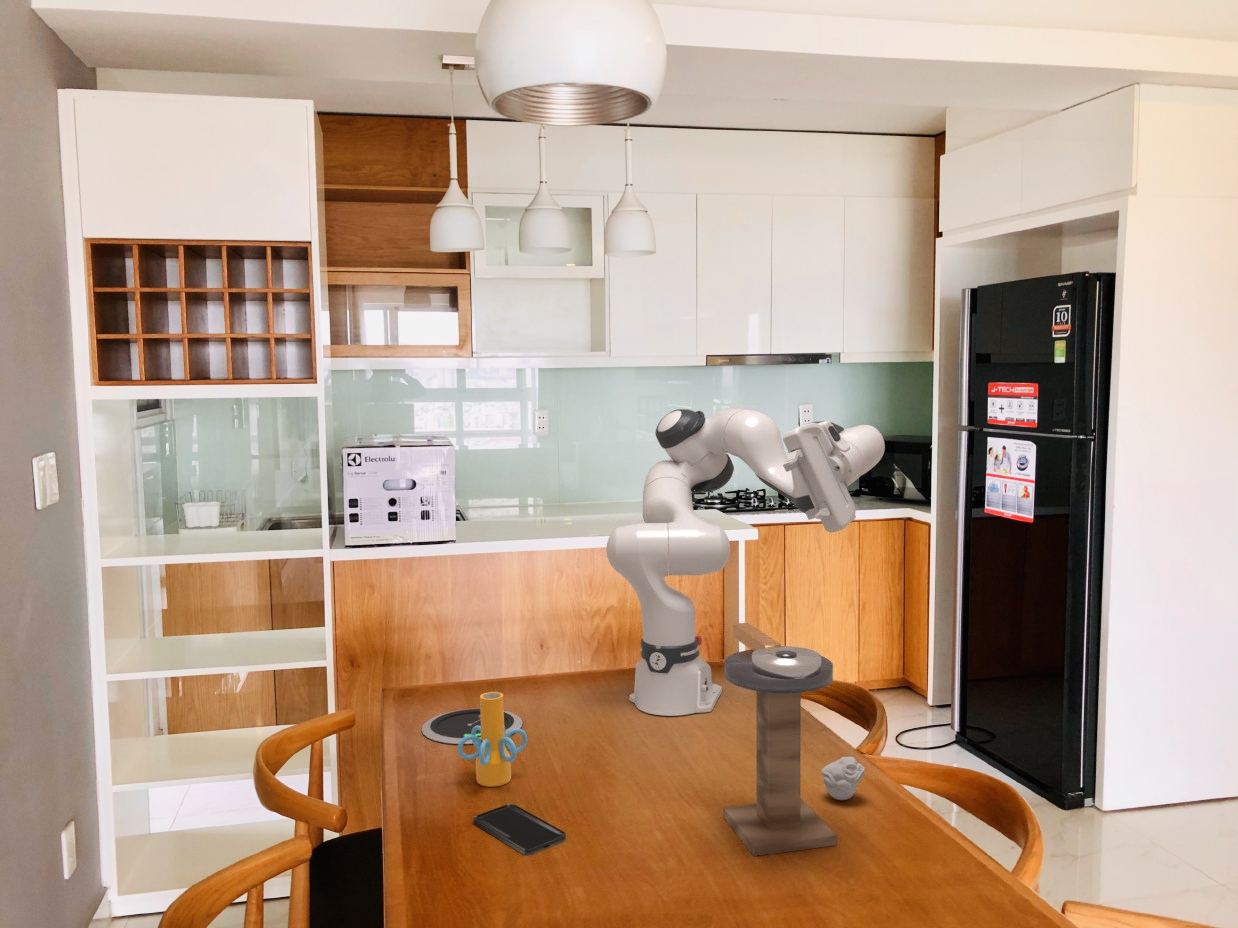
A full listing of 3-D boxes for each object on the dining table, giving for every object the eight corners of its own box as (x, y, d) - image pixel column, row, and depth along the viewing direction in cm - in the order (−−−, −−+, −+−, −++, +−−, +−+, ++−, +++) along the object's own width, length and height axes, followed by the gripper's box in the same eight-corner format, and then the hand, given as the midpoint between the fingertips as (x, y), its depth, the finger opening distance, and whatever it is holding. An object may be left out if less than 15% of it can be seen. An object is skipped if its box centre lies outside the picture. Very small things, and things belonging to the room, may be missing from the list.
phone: (511, 802, 154) (568, 833, 143) (511, 809, 154) (568, 841, 143) (469, 817, 149) (525, 851, 138) (470, 824, 149) (526, 858, 138)
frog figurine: (863, 809, 151) (864, 766, 151) (819, 804, 154) (819, 762, 153) (865, 793, 157) (865, 752, 157) (822, 788, 159) (822, 748, 159)
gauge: (524, 742, 183) (524, 737, 182) (418, 749, 180) (418, 744, 180) (520, 708, 202) (520, 703, 202) (424, 713, 200) (424, 709, 199)
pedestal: (711, 813, 151) (710, 652, 148) (805, 802, 154) (805, 644, 152) (747, 862, 135) (747, 683, 133) (851, 848, 139) (852, 674, 137)
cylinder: (512, 797, 158) (509, 709, 156) (452, 792, 160) (450, 705, 158) (533, 768, 170) (531, 686, 168) (477, 764, 172) (475, 683, 170)
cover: (712, 638, 157) (711, 624, 157) (768, 633, 159) (768, 620, 159) (767, 681, 134) (767, 665, 133) (832, 675, 136) (833, 659, 136)
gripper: (844, 520, 181) (809, 548, 171) (798, 423, 180) (760, 445, 170) (872, 512, 176) (838, 540, 166) (825, 412, 176) (788, 434, 166)
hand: (798, 491), depth 168 cm, fingers open, 8 cm apart
